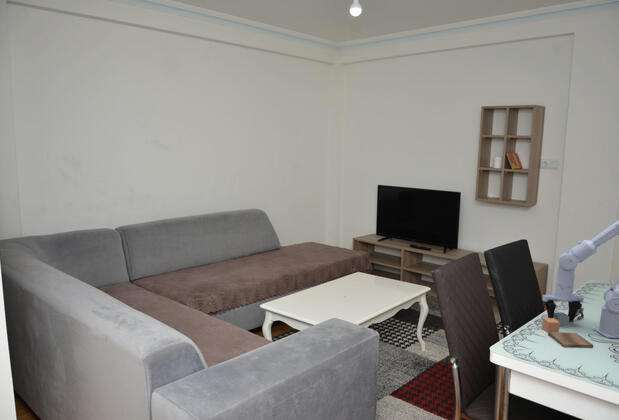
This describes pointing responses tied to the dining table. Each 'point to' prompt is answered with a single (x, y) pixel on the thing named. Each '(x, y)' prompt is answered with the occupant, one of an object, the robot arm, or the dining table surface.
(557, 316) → the slate cube
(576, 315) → the wooden post with brackets
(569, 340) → the walnut base plate
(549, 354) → the dining table surface
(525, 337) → the dining table surface
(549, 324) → the terracotta cube
